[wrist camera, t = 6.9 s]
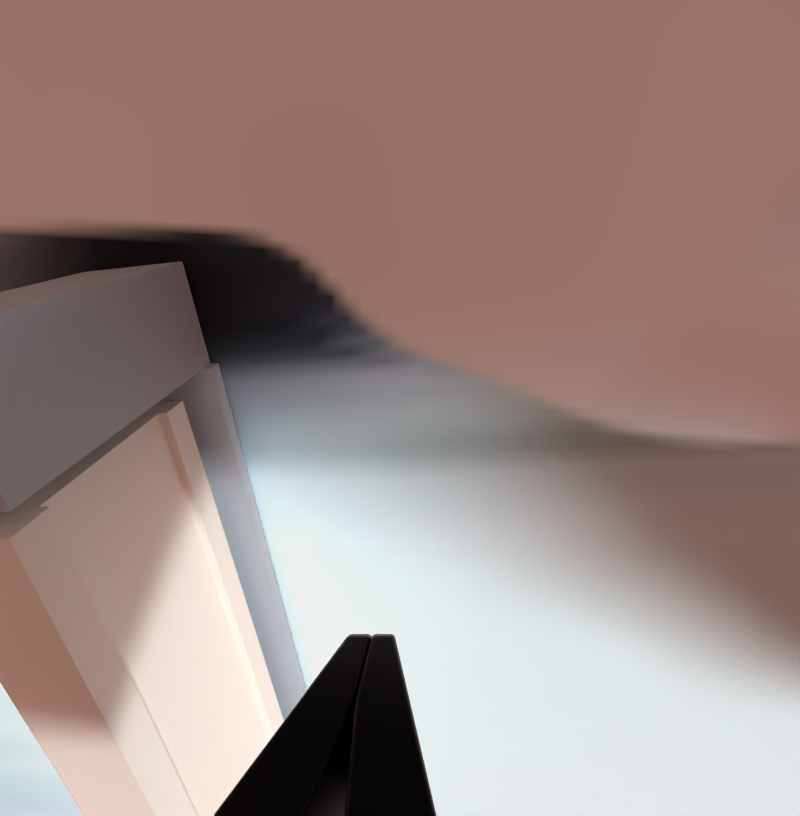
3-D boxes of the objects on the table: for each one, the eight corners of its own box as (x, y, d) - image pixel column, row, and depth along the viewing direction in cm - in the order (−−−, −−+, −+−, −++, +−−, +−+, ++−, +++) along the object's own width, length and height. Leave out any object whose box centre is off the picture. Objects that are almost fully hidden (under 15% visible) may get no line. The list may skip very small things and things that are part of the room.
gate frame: (190, 260, 11) (-188, 370, 5) (333, 791, 19) (269, 1115, 12) (53, 275, 12) (-470, 395, 5) (248, 787, 19) (142, 1097, 13)
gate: (186, 396, 12) (8, 538, 7) (300, 760, 17) (241, 978, 13) (124, 401, 12) (-87, 542, 7) (255, 758, 17) (182, 972, 13)
